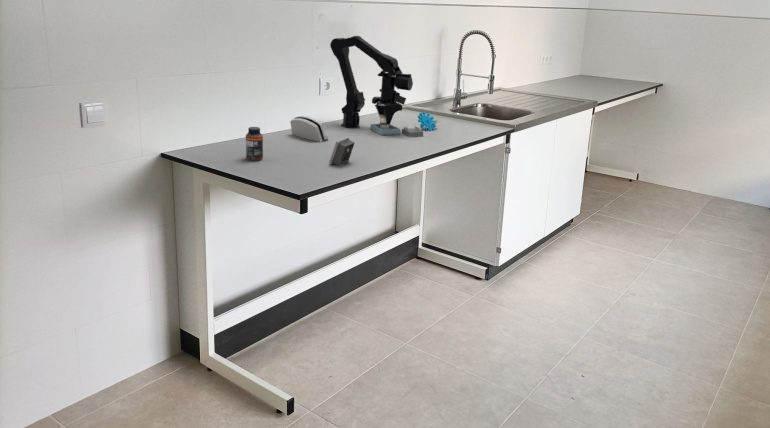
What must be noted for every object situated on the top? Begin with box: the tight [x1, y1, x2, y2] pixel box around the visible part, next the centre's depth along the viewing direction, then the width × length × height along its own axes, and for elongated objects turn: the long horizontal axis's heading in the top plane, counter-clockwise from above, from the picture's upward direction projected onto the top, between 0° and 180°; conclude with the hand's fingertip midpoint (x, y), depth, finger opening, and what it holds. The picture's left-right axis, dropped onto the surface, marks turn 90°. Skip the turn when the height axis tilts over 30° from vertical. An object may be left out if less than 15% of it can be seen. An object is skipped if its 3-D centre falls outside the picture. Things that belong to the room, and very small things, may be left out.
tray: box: [370, 123, 401, 136], centre depth 292 cm, size 9×11×2 cm
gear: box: [417, 111, 438, 132], centre depth 304 cm, size 11×6×10 cm
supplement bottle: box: [245, 126, 264, 162], centre depth 233 cm, size 6×6×11 cm
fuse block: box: [401, 125, 424, 138], centre depth 290 cm, size 7×7×3 cm
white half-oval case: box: [289, 115, 329, 143], centre depth 270 cm, size 17×5×10 cm, turn 52°
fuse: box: [378, 114, 389, 129], centre depth 290 cm, size 4×4×7 cm
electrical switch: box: [329, 136, 356, 167], centre depth 236 cm, size 9×5×9 cm, turn 158°
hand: (385, 123), depth 291 cm, fingers open, 6 cm apart
